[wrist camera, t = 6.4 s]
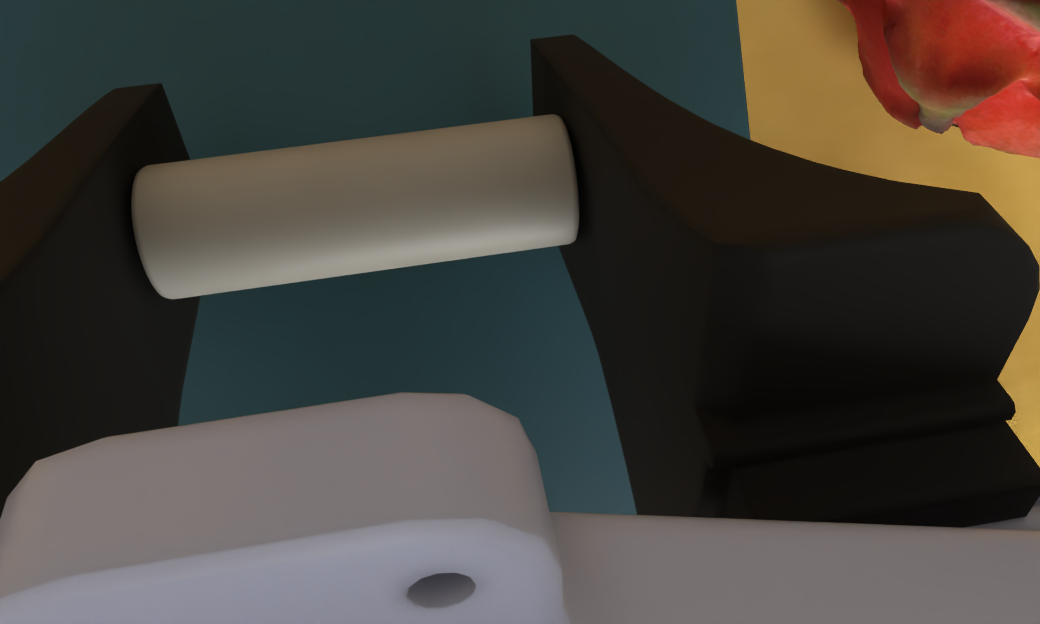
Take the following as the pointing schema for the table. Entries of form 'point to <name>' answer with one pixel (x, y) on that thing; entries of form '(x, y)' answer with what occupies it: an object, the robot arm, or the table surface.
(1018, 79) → the dragon fruit
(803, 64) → the table surface
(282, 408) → the cool box lid
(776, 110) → the table surface
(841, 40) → the table surface
